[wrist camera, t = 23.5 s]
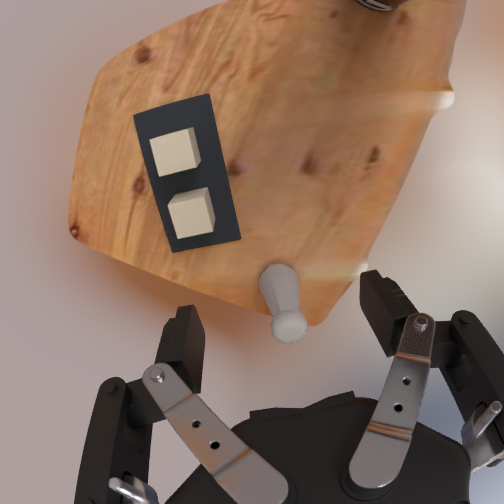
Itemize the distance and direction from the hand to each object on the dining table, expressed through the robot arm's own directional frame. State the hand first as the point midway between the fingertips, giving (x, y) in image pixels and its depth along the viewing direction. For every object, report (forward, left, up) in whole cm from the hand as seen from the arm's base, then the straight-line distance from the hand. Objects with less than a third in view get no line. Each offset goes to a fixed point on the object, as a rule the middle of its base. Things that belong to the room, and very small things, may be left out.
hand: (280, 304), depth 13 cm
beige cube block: (+2, -8, -26) cm, 27 cm away
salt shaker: (+15, +1, -26) cm, 30 cm away
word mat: (-2, -8, -26) cm, 27 cm away
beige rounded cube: (-6, -8, -26) cm, 28 cm away
